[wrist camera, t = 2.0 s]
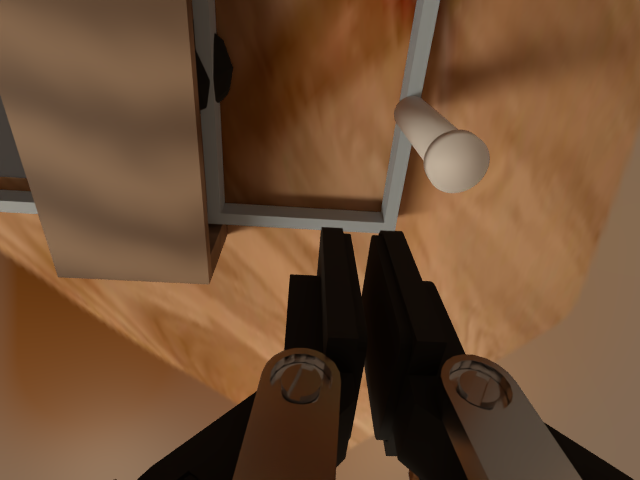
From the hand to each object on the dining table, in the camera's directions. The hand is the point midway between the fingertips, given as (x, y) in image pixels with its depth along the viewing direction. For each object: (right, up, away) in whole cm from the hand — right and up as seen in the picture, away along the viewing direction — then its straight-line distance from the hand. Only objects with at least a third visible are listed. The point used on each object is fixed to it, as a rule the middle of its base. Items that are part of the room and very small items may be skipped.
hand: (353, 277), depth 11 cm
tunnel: (-14, +13, +19) cm, 27 cm away
